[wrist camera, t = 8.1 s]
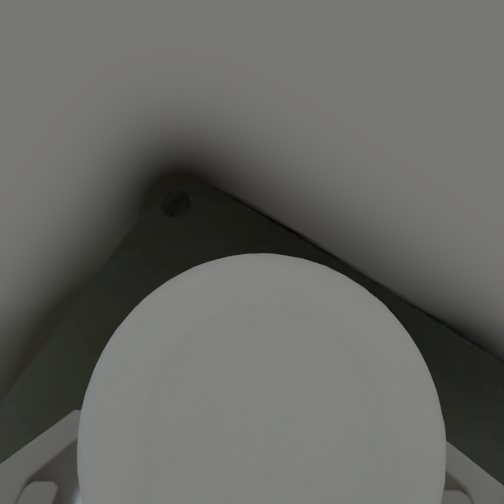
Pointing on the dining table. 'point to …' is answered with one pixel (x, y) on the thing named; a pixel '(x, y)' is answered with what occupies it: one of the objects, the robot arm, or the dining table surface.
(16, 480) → the robot arm
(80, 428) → the sprinkles bottle
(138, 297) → the dining table surface
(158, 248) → the dining table surface
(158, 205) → the dining table surface
